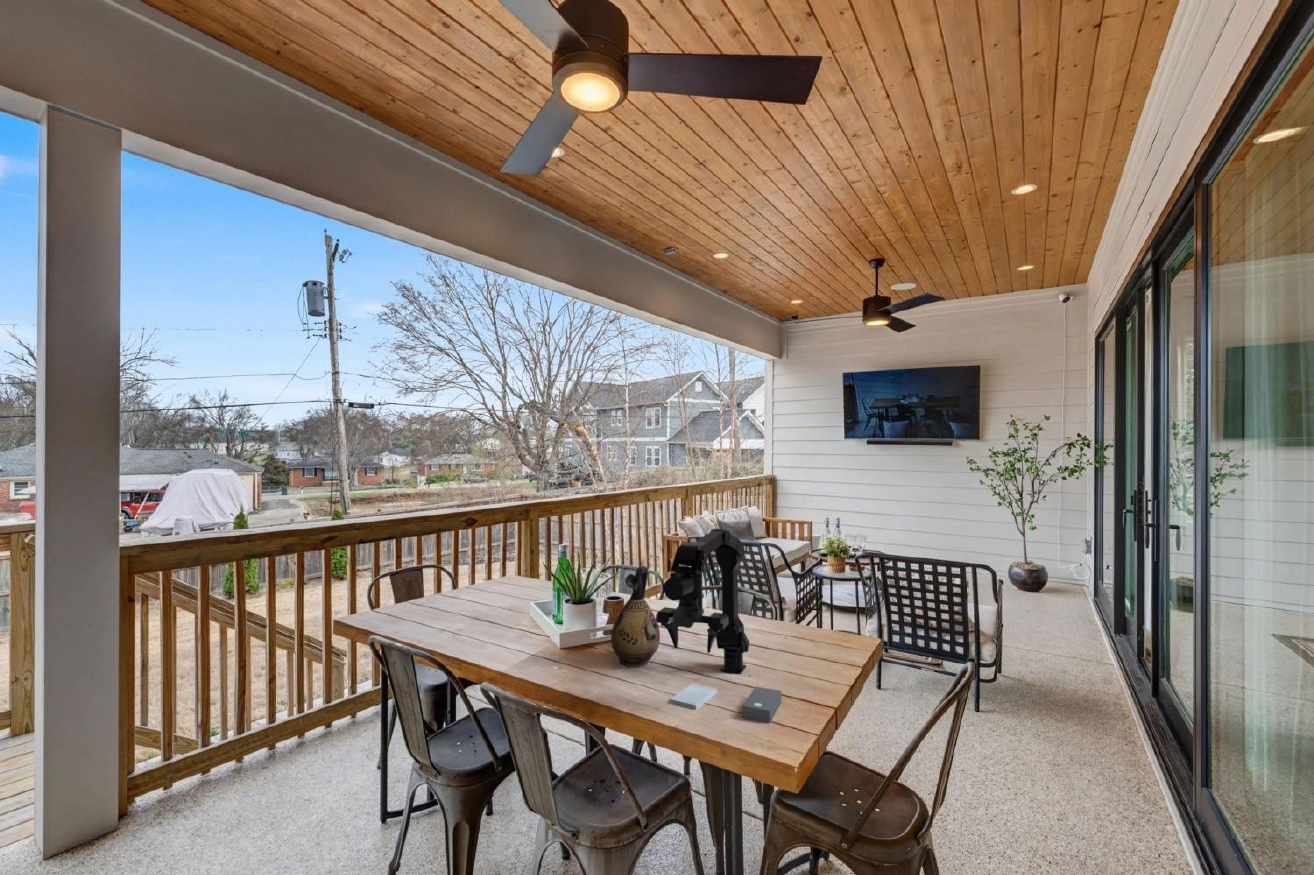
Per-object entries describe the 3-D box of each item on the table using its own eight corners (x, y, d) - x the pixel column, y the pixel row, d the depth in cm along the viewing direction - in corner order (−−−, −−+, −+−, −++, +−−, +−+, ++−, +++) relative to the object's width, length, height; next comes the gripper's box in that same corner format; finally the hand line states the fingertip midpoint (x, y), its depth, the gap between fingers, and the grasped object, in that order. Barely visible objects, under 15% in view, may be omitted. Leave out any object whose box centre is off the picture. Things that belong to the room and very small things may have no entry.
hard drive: (696, 705, 153) (717, 688, 164) (669, 698, 157) (691, 682, 168) (696, 712, 153) (717, 694, 164) (669, 705, 157) (691, 688, 168)
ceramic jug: (649, 674, 177) (649, 574, 177) (603, 668, 182) (602, 570, 183) (668, 655, 193) (668, 563, 193) (625, 650, 198) (624, 560, 199)
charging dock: (750, 696, 161) (750, 685, 161) (781, 702, 157) (781, 690, 157) (736, 716, 149) (736, 704, 149) (770, 723, 145) (769, 710, 145)
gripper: (647, 595, 154) (648, 656, 153) (716, 602, 146) (717, 665, 146) (663, 586, 164) (664, 642, 164) (728, 592, 157) (729, 651, 156)
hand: (692, 650), depth 157 cm, fingers open, 9 cm apart
